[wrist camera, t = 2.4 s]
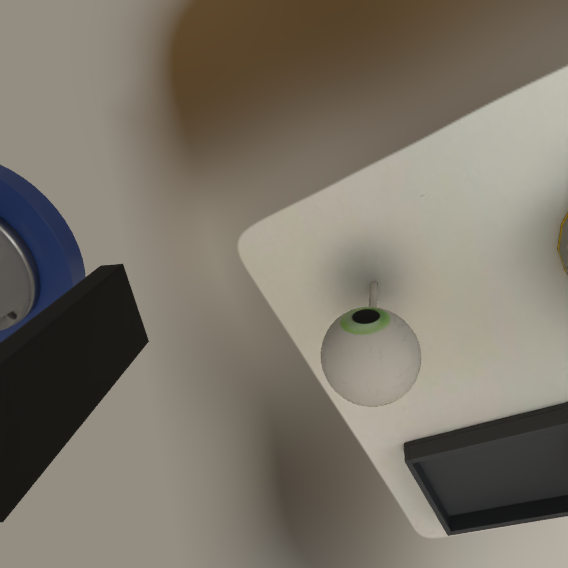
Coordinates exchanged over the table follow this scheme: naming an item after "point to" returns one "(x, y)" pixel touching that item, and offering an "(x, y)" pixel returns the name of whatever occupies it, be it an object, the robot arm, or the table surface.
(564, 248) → the soap bottle
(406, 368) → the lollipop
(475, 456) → the tray
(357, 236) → the table surface
